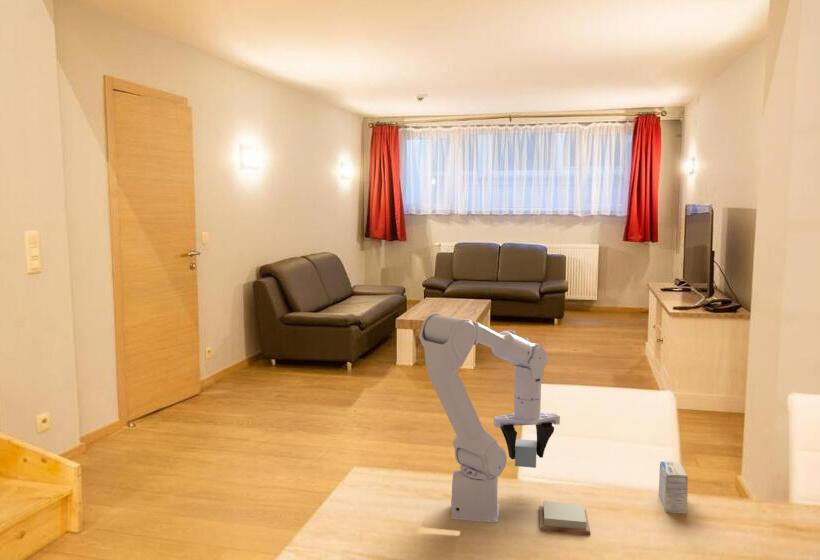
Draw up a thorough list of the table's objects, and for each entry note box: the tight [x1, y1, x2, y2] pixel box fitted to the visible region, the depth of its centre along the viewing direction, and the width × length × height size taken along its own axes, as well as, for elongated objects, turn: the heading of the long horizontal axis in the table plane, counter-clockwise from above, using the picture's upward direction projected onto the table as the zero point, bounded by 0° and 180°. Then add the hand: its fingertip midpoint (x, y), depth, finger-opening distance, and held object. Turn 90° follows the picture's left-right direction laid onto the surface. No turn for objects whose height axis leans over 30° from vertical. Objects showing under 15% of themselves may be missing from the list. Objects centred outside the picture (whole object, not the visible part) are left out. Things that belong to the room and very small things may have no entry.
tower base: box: [538, 505, 591, 536], centre depth 134 cm, size 10×10×2 cm
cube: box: [514, 438, 537, 469], centre depth 146 cm, size 4×4×4 cm
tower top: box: [543, 500, 586, 529], centre depth 134 cm, size 8×8×2 cm
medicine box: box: [658, 460, 689, 514], centre depth 140 cm, size 8×4×9 cm, turn 168°
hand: (525, 456), depth 146 cm, fingers closed on cube, 6 cm apart
